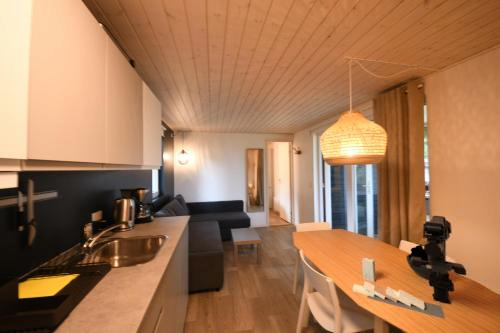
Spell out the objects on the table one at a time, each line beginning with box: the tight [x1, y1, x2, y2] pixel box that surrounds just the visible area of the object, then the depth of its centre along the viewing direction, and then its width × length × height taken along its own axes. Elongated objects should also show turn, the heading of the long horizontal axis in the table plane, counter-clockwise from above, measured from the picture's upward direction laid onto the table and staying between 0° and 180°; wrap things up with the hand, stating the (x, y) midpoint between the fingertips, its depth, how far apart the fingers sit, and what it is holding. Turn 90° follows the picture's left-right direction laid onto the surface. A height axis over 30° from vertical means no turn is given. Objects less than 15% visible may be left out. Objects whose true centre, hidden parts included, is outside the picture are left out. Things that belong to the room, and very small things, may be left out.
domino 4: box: [386, 286, 411, 306], centre depth 107 cm, size 5×2×10 cm
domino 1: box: [352, 283, 375, 297], centre depth 116 cm, size 5×2×10 cm
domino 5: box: [397, 289, 425, 310], centre depth 104 cm, size 5×2×10 cm
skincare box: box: [361, 257, 377, 283], centre depth 128 cm, size 6×4×12 cm
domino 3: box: [374, 283, 397, 302], centre depth 110 cm, size 5×2×10 cm
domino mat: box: [366, 295, 446, 320], centre depth 106 cm, size 10×30×1 cm, turn 56°
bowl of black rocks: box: [406, 244, 430, 280], centre depth 129 cm, size 20×20×19 cm
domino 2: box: [362, 280, 385, 299], centre depth 113 cm, size 5×2×10 cm
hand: (437, 283), depth 99 cm, fingers closed
